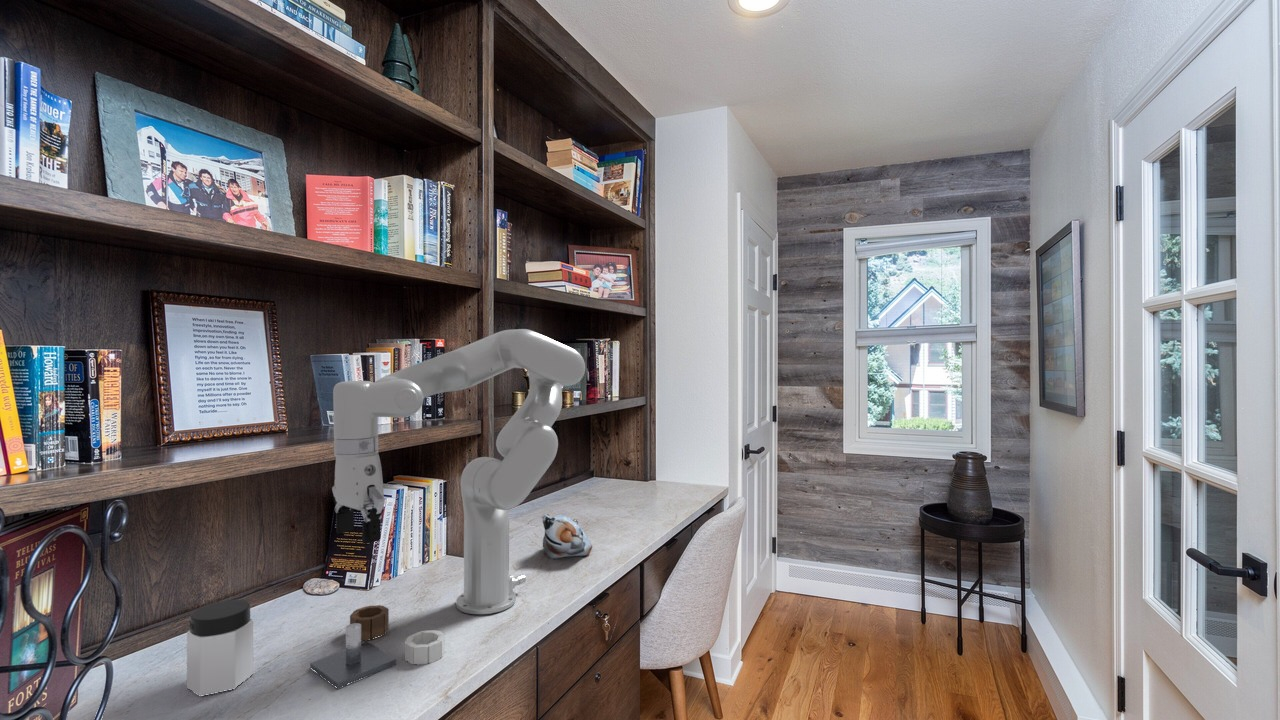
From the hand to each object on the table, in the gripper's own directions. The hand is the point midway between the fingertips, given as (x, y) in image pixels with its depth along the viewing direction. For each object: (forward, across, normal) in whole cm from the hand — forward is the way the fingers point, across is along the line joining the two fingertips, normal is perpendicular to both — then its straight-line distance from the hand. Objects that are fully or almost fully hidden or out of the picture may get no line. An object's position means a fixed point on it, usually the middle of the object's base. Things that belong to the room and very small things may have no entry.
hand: (358, 536), depth 113 cm
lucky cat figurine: (+21, +3, -59) cm, 62 cm away
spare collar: (+20, -15, -4) cm, 25 cm away
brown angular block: (+20, +1, -2) cm, 20 cm away
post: (+19, -9, +6) cm, 22 cm away
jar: (+19, +3, +22) cm, 29 cm away
